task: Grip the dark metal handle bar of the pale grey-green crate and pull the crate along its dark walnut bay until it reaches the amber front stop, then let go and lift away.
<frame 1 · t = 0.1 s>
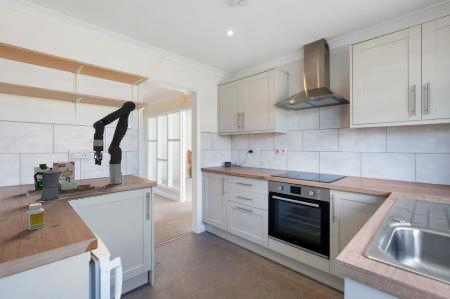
hand: (98, 165, 178), 17 cm above the worktop, tool pointing down, fingers open, 8 cm apart
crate: (67, 183, 155), point 6 cm above the worktop, slide at 0.0 cm
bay: (74, 191, 158), on the worktop
milk carton: (42, 190, 161), on the worktop
supplement bottle: (36, 227, 90), on the worktop
moka pot: (49, 199, 134), on the worktop
cracker box: (64, 188, 169), on the worktop
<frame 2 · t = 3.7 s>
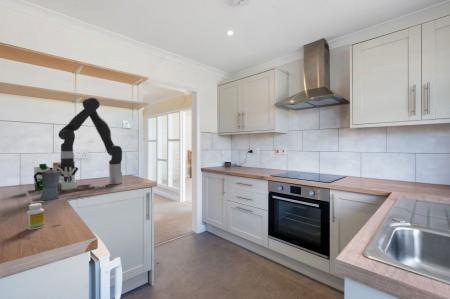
hand: (67, 181, 155), 8 cm above the worktop, tool pointing down, fingers closed on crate
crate: (67, 183, 155), point 6 cm above the worktop, slide at 0.0 cm, touching gripper
everything else where it was.
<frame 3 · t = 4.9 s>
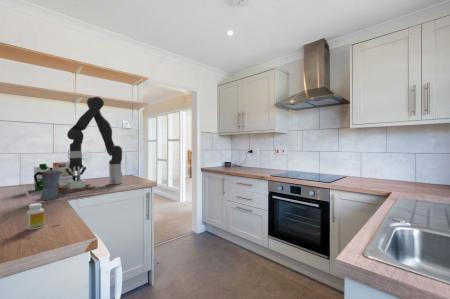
hand: (76, 180, 158), 8 cm above the worktop, tool pointing down, fingers closed on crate
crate: (76, 182, 158), point 6 cm above the worktop, slide at 5.1 cm, touching gripper
everything else where it was.
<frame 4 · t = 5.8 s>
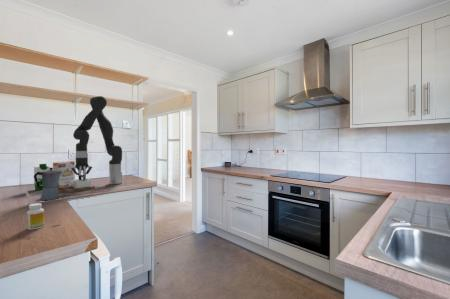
hand: (82, 180, 161), 8 cm above the worktop, tool pointing down, fingers closed on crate
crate: (82, 181, 161), point 6 cm above the worktop, slide at 8.8 cm, touching gripper
everything else where it was.
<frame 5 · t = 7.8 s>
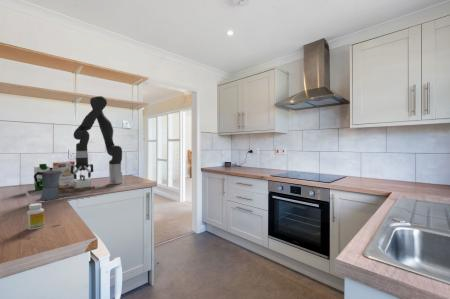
hand: (82, 178, 161), 9 cm above the worktop, tool pointing down, fingers open, 8 cm apart
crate: (82, 181, 161), point 6 cm above the worktop, slide at 8.9 cm
everything else where it was.
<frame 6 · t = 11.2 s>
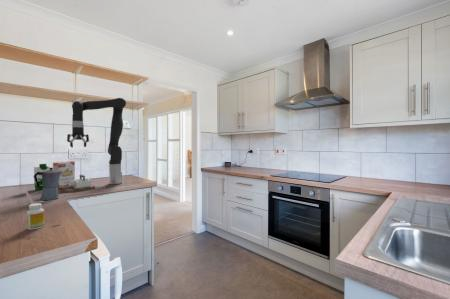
hand: (78, 147, 172), 32 cm above the worktop, tool pointing down, fingers open, 8 cm apart
nothing on the worktop moved.
at the end: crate slide at 8.9 cm; the gripper is holding nothing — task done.
